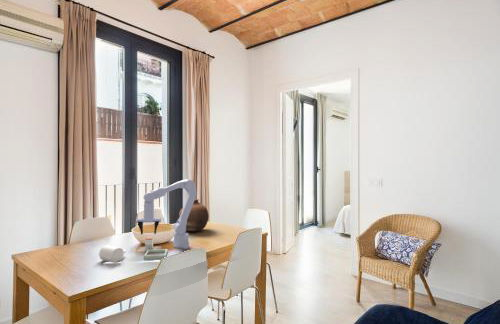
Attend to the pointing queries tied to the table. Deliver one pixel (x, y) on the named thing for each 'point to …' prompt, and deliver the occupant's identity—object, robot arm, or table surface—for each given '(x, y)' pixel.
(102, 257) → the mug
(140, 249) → the clip board
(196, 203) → the pottery
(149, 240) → the white and orange block
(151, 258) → the tray
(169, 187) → the robot arm
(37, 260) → the table surface
